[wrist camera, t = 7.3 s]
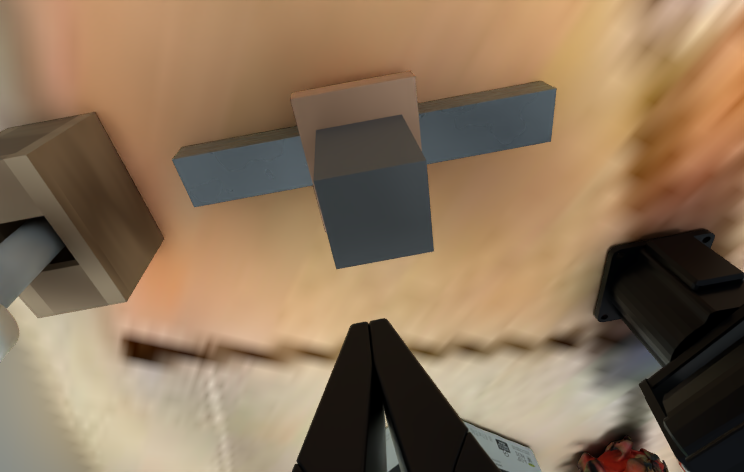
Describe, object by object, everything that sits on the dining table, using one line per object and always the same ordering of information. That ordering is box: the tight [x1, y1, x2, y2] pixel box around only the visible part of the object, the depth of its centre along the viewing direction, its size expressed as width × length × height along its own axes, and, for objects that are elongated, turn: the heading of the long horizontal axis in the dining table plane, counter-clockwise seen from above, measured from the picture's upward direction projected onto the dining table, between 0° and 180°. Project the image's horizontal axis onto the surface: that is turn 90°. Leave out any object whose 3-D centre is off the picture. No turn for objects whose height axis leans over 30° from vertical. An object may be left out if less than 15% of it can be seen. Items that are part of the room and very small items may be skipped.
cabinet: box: [0, 112, 164, 318], centre depth 18 cm, size 7×4×5 cm, turn 9°
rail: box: [172, 81, 556, 207], centre depth 19 cm, size 2×18×2 cm, turn 99°
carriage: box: [290, 71, 434, 269], centre depth 16 cm, size 6×5×7 cm
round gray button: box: [0, 216, 66, 362], centre depth 14 cm, size 3×3×7 cm
